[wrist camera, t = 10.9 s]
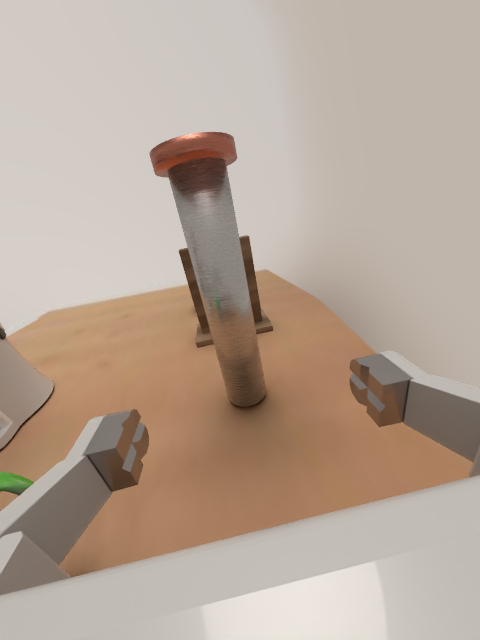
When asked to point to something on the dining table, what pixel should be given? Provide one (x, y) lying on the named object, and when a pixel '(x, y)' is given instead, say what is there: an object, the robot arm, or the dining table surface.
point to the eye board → (259, 316)
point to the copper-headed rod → (215, 253)
